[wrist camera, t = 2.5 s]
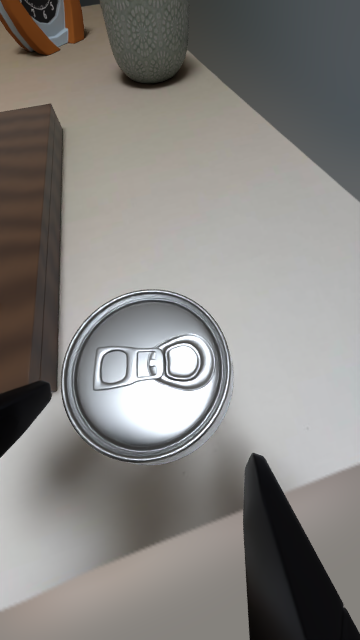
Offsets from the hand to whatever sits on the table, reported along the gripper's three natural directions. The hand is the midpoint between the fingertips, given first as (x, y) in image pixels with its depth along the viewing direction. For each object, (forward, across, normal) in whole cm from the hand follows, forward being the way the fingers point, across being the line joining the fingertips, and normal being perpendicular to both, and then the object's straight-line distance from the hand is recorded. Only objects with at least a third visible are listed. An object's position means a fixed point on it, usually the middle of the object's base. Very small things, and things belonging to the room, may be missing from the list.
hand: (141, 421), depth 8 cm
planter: (+54, +25, -40) cm, 71 cm away
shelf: (+18, +28, -5) cm, 34 cm away
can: (+8, 0, +5) cm, 10 cm away
